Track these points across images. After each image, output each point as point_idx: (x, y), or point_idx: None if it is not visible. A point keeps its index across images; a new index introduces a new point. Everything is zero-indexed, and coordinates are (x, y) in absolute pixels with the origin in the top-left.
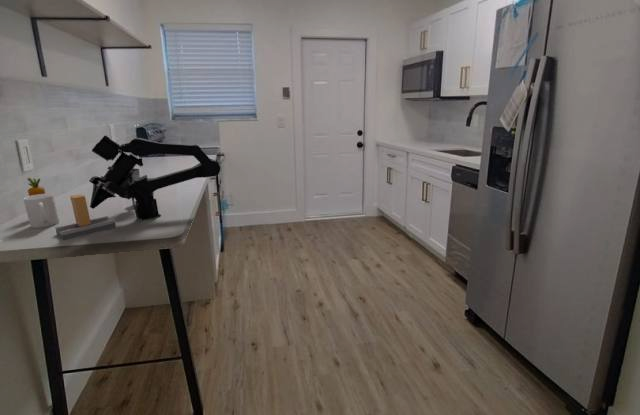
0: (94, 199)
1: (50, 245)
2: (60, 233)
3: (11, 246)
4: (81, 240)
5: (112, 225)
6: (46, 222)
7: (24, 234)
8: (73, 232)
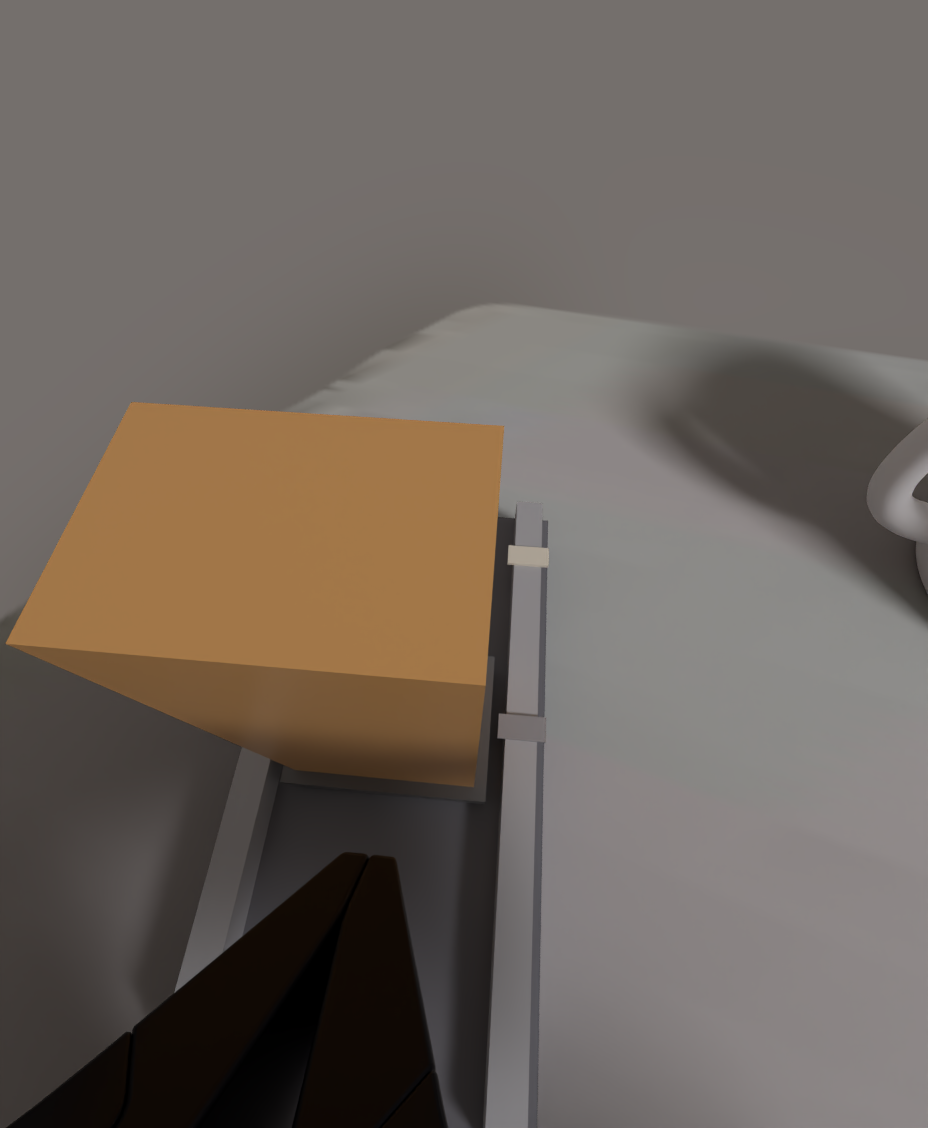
0: (184, 1003)
1: None
2: None
3: (524, 325)
4: None
5: None
6: (885, 527)
7: (779, 417)
8: None
